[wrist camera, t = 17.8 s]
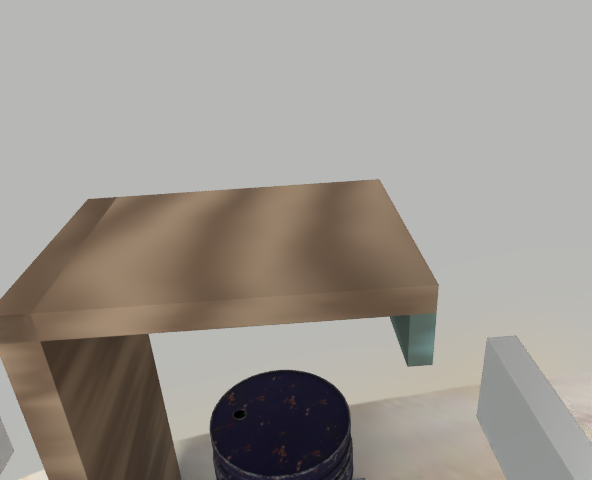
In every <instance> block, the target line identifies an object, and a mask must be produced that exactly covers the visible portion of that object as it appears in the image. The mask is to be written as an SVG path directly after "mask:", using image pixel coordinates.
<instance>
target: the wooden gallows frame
mask: <svg viewBox="0 0 592 480" xmlns="http://www.w3.org/2000/svg"><path fill="white" fill-rule="evenodd" d="M437 298H438V283H437V281H436V279H435V278H434V276H433V274H432V272H431V270H430V269H429V267H428V265H427V263H426V262H425V260H424V258H423V256H422V255H421V253H420V251H419V249H418V247H417V246H416V244H415V242H414V240H413V239H412V237H411V235H410V233H409V231H408V230H407V228H406V226H405V224H404V222H403V221H402V219H401V217H400V215H399V213H398V212H397V210H396V208H395V206H394V205H393V203H392V201H391V199H390V198H389V196H388V194H387V192H386V190H385V189H384V187H383V185H382V183H381V182H380V180H379V179H376V180H362V181H347V182H332V183H318V184H304V185H289V186H274V187H259V188H245V189H232V190H231V189H230V190H215V191H201V192H186V193H172V194H158V195H142V196H128V197H113V198H99V199H88V200H87V201H86V202H85V203H84V204H83V206H82V207H81V208H80V209H79V210H78V211H77V212H76V214H75V215H74V216H73V217H72V218H71V219H70V220H69V222H68V223H67V224H66V225H65V226H64V227H63V229H62V230H61V231H60V232H59V233H58V234H57V235H56V236H55V237H54V239H53V240H52V241H51V242H50V243H49V244H48V246H47V247H46V248H45V249H44V250H43V251H42V252H41V254H40V255H39V256H38V257H37V258H36V259H35V260H34V261H33V263H32V264H31V265H30V266H29V267H28V269H26V271H25V272H24V273H23V274H22V275H21V276H20V277H19V279H18V280H17V281H16V282H15V283H14V284H13V285H12V287H11V288H10V289H9V290H8V291H7V292H6V293H5V295H4V296H3V297H2V298H1V299H0V357H1V360H2V362H3V365H4V367H5V370H6V372H7V374H8V377H9V380H10V382H11V385H12V387H13V390H14V392H15V395H16V398H17V400H18V403H19V405H20V408H21V410H22V413H23V415H24V418H25V421H26V423H27V426H28V428H29V431H30V433H31V436H32V438H33V441H34V443H35V446H36V448H37V451H38V453H39V456H40V459H41V461H42V464H43V466H44V469H45V471H46V474H47V476H48V479H49V480H181V475H180V471H179V467H178V462H177V458H176V453H175V449H174V445H173V440H172V436H171V431H170V427H169V423H168V418H167V414H166V409H165V405H164V401H163V396H162V392H161V387H160V383H159V379H158V374H157V370H156V365H155V361H154V356H153V352H152V348H151V344H150V339H149V335H148V334H150V333H164V332H177V331H192V330H206V329H220V328H234V327H247V326H262V325H276V324H290V323H303V322H318V321H332V320H346V319H359V318H373V317H387V316H390V319H391V322H392V324H393V327H394V330H395V333H396V335H397V338H398V341H399V344H400V347H401V350H402V352H403V355H404V358H405V361H406V363H407V366H408V367H409V366H423V365H432V362H433V350H434V337H435V324H436V311H437Z"/></svg>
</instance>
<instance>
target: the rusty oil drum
mask: <svg viewBox="0 0 592 480" xmlns="http://www.w3.org/2000/svg"><path fill="white" fill-rule="evenodd" d="M210 435H211V442H212V446H213V461H214V467H215V473H216V479H217V480H352V476H353V447H352V438H351V420H350V410H349V406H348V404H347V402H346V400H345V398H344V396H343V395H342V394H341V392H340V391H339V390H338V389H337V388H336V387H335V386H334V385H333V384H331V383H330V382H328V381H327V380H325V379H323V378H321V377H319V376H317V375H314V374H311V373H307V372H303V371H296V370H276V371H269V372H265V373H260V374H258V375H254V376H251V377H249V378H247V379H245V380H243V381H241V382H240V383H238V384H236V385H235V386H233V387H232V388H231V389H230V390H229V391H227V392H226V393H225V395H223V396H222V397H221V399H220V400H219V402H218V403H217V404H216V406H215V409H214V411H213V413H212V416H211V420H210Z"/></svg>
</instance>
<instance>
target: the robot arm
mask: <svg viewBox="0 0 592 480" xmlns="http://www.w3.org/2000/svg"><path fill="white" fill-rule="evenodd" d="M477 418H478V420H479V422H480V424H481V426H482V428H483V431H484V433H485V435H486V437H487V439H488V441H489V443H490V445H491V447H492V449H493V452H494V454H495V456H496V458H497V460H498V462H499V464H500V466H501V468H502V470H503V472H504V475H505V477H506V479H507V480H592V443H591V441H590V440H589V439H588V437H587V436H586V434H585V433H584V431H583V430H582V429H581V427H580V426H579V424H578V423H577V421H576V420H575V419H574V417H573V416H572V414H571V413H570V412H569V410H568V409H567V407H566V406H565V404H564V403H563V402H562V400H561V399H560V397H559V396H558V394H557V393H556V392H555V390H554V389H553V387H552V386H551V384H550V383H549V382H548V380H547V379H546V377H545V376H544V375H543V373H542V372H541V370H540V369H539V367H538V366H537V365H536V363H535V362H534V360H533V359H532V357H531V356H530V355H529V353H528V352H527V350H526V349H525V348H524V346H523V345H522V343H521V342H520V340H519V339H518V338H517V336H506V337H493V338H487V343H486V350H485V358H484V366H483V373H482V381H481V387H480V395H479V402H478V410H477ZM13 452H14V449H13V447H12V444H11V442H10V439H9V437H8V435H7V432H6V430H5V428H4V425H3V423H2V421H1V418H0V475H1V473H2V471H3V470H4V468H5V466H6V464H7V462H8V461H9V459H10V457H11V455H12V453H13Z"/></svg>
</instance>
